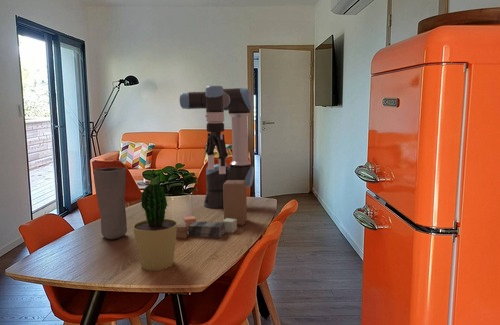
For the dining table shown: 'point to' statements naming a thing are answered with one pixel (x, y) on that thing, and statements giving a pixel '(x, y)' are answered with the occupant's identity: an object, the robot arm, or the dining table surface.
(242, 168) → the robot arm
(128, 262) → the dining table surface
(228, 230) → the sage cube
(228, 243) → the dining table surface
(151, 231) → the potted cactus
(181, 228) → the walnut cube
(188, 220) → the terracotta cube
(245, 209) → the wooden block
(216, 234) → the stone block
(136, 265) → the dining table surface
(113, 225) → the vase
